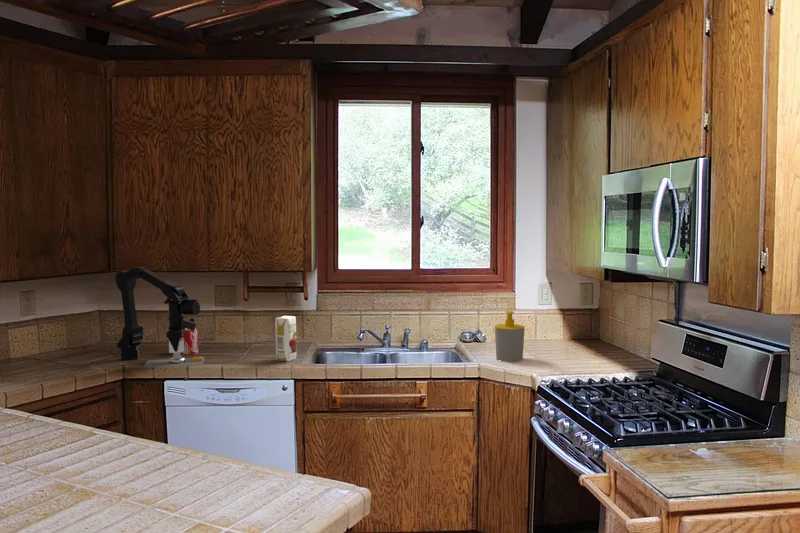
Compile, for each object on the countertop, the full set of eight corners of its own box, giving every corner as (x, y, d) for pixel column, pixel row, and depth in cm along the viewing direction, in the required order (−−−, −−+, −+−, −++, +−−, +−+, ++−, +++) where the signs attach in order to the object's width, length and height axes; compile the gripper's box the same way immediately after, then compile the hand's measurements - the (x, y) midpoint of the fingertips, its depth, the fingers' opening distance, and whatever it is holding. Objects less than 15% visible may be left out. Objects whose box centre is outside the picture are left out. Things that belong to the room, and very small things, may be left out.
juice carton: (273, 360, 277) (272, 317, 275) (284, 356, 285) (283, 315, 283) (288, 362, 274) (287, 318, 272) (298, 358, 282) (298, 316, 280)
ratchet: (168, 364, 268) (168, 353, 267) (170, 360, 274) (169, 350, 274) (201, 362, 271) (201, 351, 271) (202, 359, 277) (202, 348, 277)
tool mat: (142, 369, 262) (142, 367, 262) (147, 362, 275) (147, 360, 275) (203, 365, 268) (203, 364, 268) (204, 358, 281) (204, 357, 281)
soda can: (188, 356, 286) (187, 330, 285) (179, 354, 290) (178, 328, 289) (201, 354, 292) (200, 328, 291) (192, 352, 296) (191, 326, 295)
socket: (169, 352, 268) (168, 341, 268) (170, 350, 273) (170, 338, 273) (183, 352, 269) (182, 340, 269) (184, 349, 275) (183, 338, 274)
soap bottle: (491, 361, 274) (491, 312, 272) (497, 355, 286) (497, 308, 285) (521, 363, 269) (522, 314, 268) (526, 357, 282) (527, 310, 280)
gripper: (194, 316, 263) (195, 353, 264) (196, 310, 281) (197, 344, 282) (165, 317, 260) (166, 355, 261) (170, 311, 278) (171, 346, 280)
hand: (176, 350), depth 271 cm, fingers closed on socket, 6 cm apart
